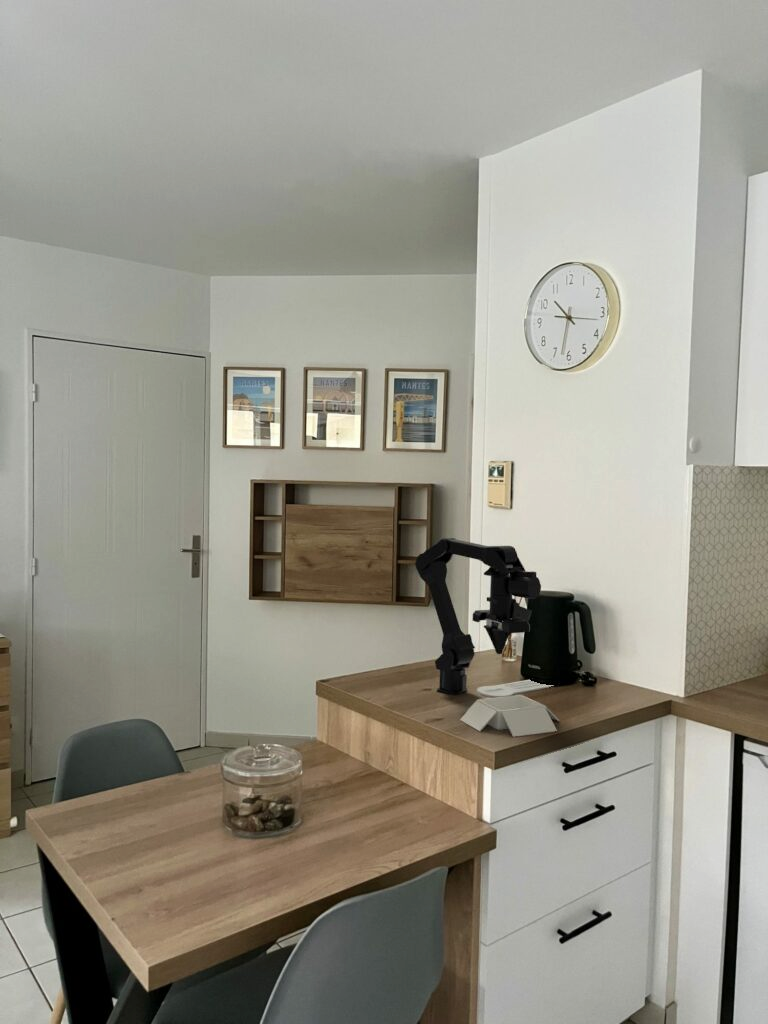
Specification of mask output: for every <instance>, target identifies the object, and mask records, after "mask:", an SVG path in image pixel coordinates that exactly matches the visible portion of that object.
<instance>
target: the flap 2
mask: <svg viewBox="0 0 768 1024" xmlns="http://www.w3.org/2000/svg"><path fill="white" fill-rule="evenodd" d="M530 699H531V698H530ZM531 700H533V699H531ZM541 704H542V705H544V704H543V703H541ZM545 708H546V710H547V712H548V714H549V716H550V718H551V720H555V721H556V720H557V722H558V721H559V722H560V720H559V718H558V717H557V716H556V715H555V714H554V713H553V712H552V711H551V710H550V709H549V708H548V707H547V706H546V707H545Z"/></svg>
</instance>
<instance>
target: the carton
mask: <svg viewBox="0 0 768 1024" xmlns="http://www.w3.org/2000/svg"><path fill="white" fill-rule="evenodd" d="M476 701H478V702H480V703H482V704H483V705H485V706H487V707H489V708H491V709H493V710H495V711H497V713H496V714H495V715H494V716H493V717H492V719H491V720H490V721H489V722H488V723H487V724H486V725H488V726H490V727H491V728H494V729H495V730H497V729H498V730H497V731H503V729H505V730H510V729H509V727H508V725H507V723H506V721H505V719H504V717H503V714H502V712H506V711H515V710H524V709H533V708H542V707H547V706H546V705H545V704H543V703H541V702H538V701H536V700H533V699H532V700H531V698H529V697H527V696H526V695H523V694H519V695H518V694H515V695H512V696H507V697H497V698H495V697H487V698H479V699H478V698H477V699H476ZM542 704H543V705H542Z"/></svg>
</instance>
